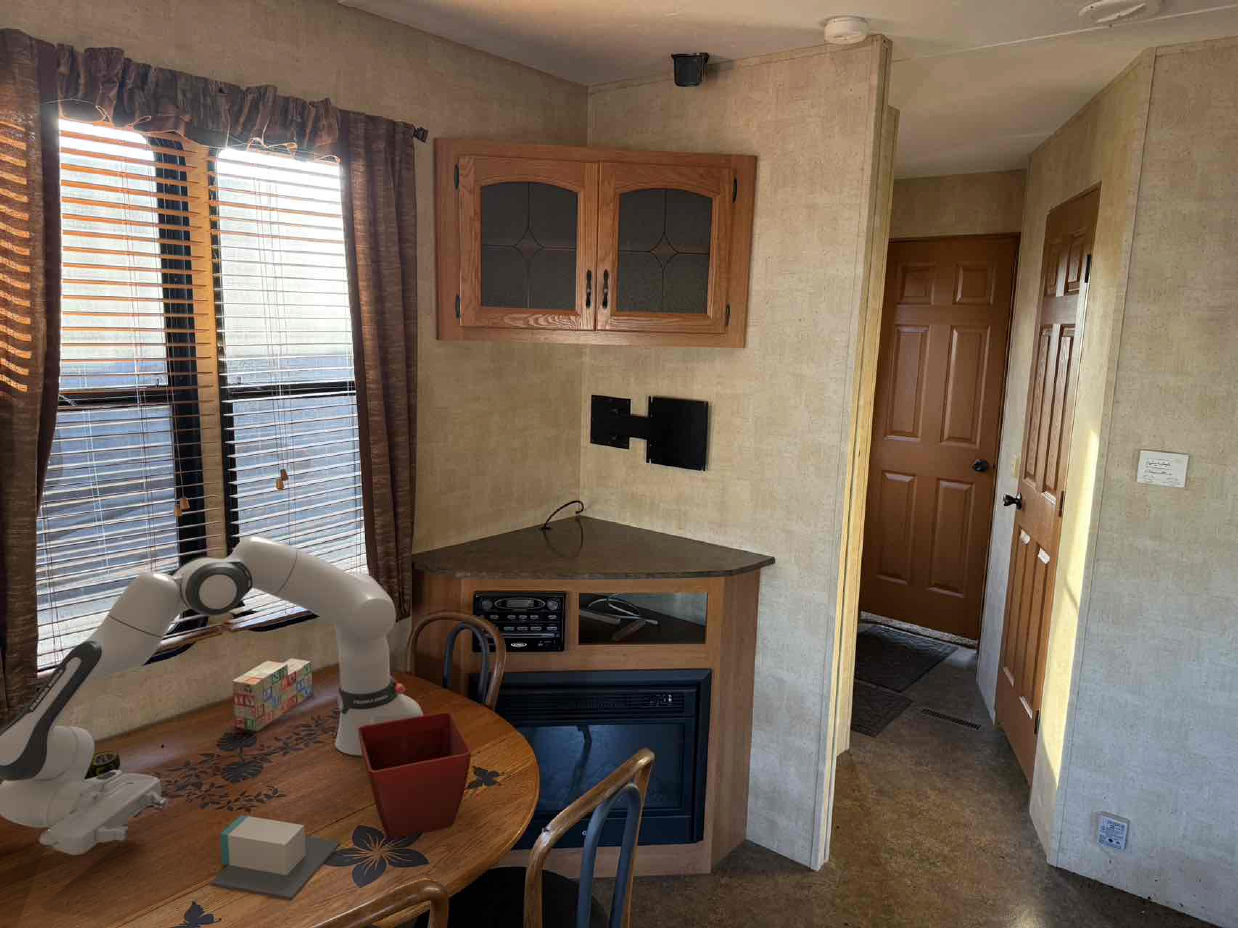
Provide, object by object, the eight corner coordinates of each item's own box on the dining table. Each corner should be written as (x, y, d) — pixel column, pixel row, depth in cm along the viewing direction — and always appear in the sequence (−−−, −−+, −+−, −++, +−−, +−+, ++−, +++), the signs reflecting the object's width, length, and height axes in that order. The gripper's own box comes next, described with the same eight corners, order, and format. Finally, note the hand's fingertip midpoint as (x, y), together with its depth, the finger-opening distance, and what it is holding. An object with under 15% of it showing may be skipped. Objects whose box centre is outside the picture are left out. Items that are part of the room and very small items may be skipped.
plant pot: (359, 801, 179) (357, 725, 176) (452, 783, 186) (450, 709, 183) (372, 855, 161) (369, 771, 158) (473, 832, 169) (472, 752, 166)
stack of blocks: (292, 691, 228) (290, 646, 226) (313, 694, 226) (311, 650, 224) (234, 727, 208) (231, 679, 206) (256, 732, 206) (253, 683, 204)
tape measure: (83, 771, 188) (81, 755, 187) (119, 762, 192) (118, 746, 191) (85, 785, 182) (83, 769, 182) (122, 776, 186) (120, 760, 186)
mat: (209, 884, 152) (209, 882, 152) (264, 831, 168) (264, 829, 168) (291, 899, 149) (291, 896, 149) (340, 844, 164) (340, 841, 164)
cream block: (241, 814, 162) (304, 825, 159) (243, 844, 163) (305, 854, 160) (220, 833, 156) (285, 844, 154) (222, 863, 157) (286, 875, 155)
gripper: (30, 824, 149) (99, 836, 146) (121, 764, 169) (183, 774, 166) (34, 857, 150) (102, 870, 148) (123, 794, 170) (185, 804, 167)
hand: (146, 818), depth 157 cm, fingers open, 8 cm apart
